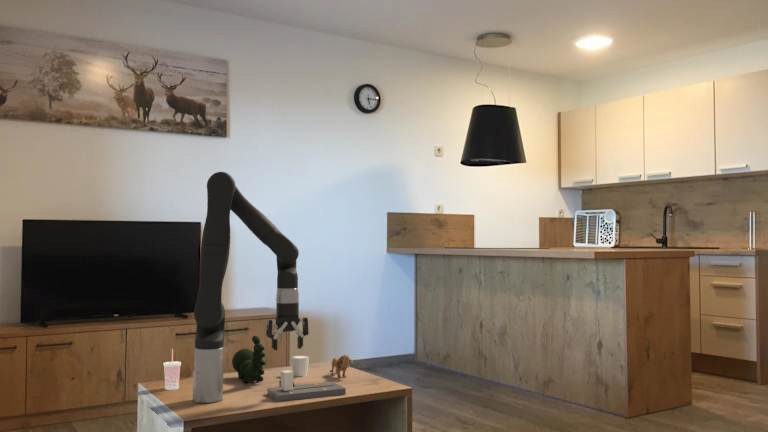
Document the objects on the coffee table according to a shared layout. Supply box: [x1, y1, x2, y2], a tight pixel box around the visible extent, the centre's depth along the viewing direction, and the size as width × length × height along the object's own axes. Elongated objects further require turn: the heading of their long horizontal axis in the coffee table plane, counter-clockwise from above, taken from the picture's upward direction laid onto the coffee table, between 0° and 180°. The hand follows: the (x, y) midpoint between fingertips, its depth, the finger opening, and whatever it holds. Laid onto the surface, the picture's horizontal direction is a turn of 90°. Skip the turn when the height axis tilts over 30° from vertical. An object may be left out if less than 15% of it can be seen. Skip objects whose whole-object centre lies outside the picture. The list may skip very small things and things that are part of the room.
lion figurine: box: [328, 354, 354, 379], centre depth 259 cm, size 15×5×9 cm, turn 34°
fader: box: [280, 369, 294, 391], centre depth 225 cm, size 3×4×8 cm
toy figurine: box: [231, 335, 266, 384], centre depth 250 cm, size 9×19×25 cm
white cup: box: [291, 355, 310, 377], centre depth 261 cm, size 7×7×7 cm
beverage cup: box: [163, 348, 182, 391], centre depth 236 cm, size 6×6×14 cm
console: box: [266, 381, 347, 403], centre depth 228 cm, size 24×12×2 cm, turn 117°
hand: (287, 349), depth 226 cm, fingers open, 8 cm apart
